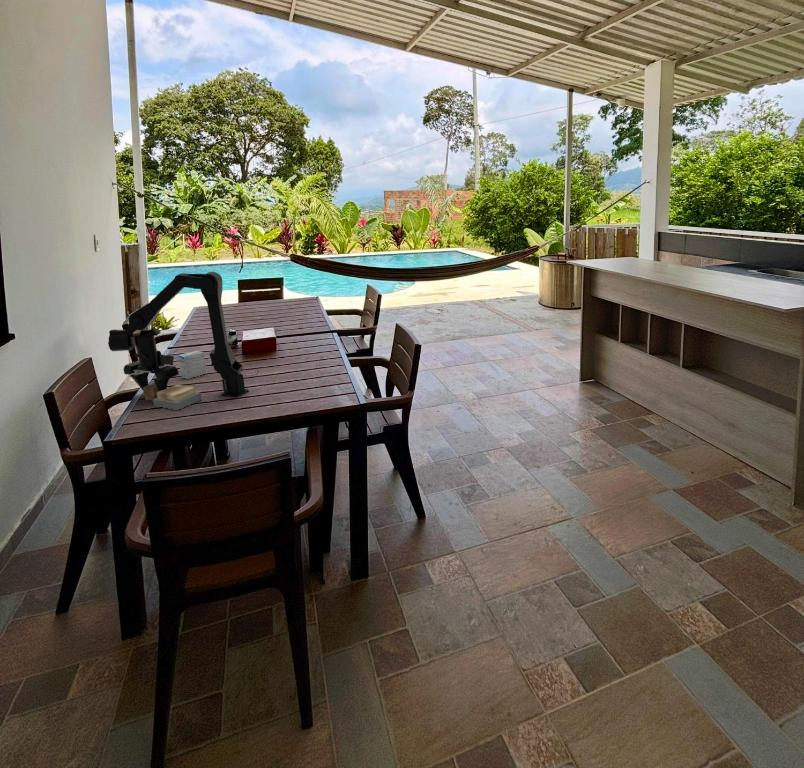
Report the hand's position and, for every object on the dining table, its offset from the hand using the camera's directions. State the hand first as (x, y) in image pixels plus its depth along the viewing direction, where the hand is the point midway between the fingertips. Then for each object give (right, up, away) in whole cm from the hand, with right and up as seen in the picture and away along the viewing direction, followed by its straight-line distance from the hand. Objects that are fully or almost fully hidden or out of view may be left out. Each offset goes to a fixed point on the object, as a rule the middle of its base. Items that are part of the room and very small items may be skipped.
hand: (155, 395), depth 181 cm
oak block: (+9, 0, -6) cm, 11 cm away
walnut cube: (0, -1, 0) cm, 1 cm away
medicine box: (+4, +6, +22) cm, 24 cm away
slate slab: (+10, -3, -5) cm, 11 cm away
